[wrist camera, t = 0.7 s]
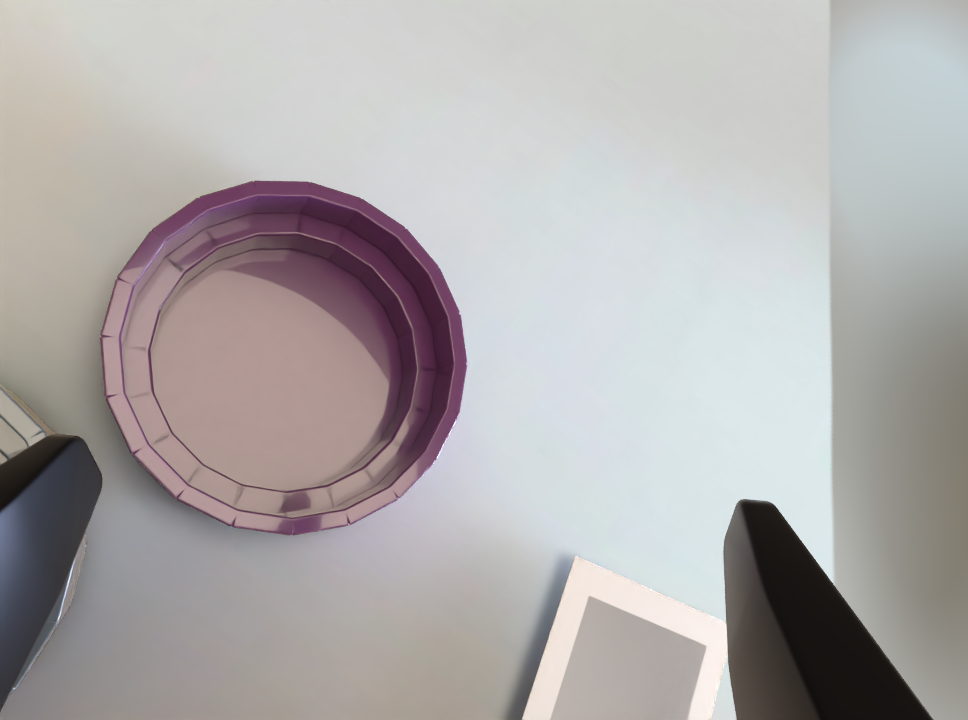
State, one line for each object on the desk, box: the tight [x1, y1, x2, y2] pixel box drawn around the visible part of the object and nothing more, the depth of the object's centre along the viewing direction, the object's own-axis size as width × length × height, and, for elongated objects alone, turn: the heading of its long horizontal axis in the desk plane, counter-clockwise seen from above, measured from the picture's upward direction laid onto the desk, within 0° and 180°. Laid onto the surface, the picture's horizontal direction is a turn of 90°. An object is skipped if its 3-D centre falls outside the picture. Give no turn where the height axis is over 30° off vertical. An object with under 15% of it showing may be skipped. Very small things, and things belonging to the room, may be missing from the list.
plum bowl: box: [100, 181, 467, 535], centre depth 24 cm, size 11×11×4 cm
